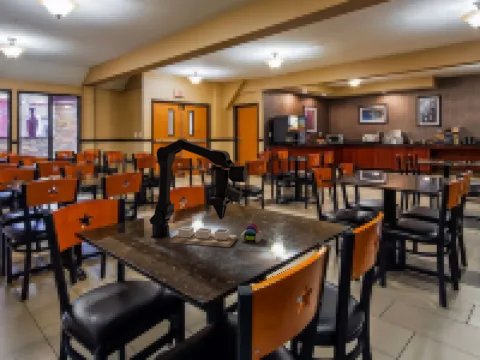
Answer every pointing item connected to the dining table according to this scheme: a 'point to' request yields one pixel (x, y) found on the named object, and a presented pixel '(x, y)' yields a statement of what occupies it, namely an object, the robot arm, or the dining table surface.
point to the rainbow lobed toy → (251, 233)
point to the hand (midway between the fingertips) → (221, 218)
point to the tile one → (186, 231)
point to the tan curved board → (204, 240)
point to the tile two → (203, 233)
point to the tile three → (221, 234)
